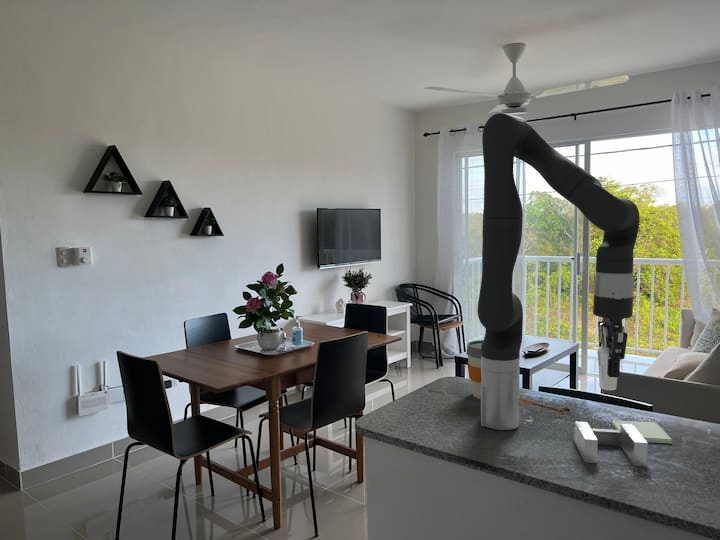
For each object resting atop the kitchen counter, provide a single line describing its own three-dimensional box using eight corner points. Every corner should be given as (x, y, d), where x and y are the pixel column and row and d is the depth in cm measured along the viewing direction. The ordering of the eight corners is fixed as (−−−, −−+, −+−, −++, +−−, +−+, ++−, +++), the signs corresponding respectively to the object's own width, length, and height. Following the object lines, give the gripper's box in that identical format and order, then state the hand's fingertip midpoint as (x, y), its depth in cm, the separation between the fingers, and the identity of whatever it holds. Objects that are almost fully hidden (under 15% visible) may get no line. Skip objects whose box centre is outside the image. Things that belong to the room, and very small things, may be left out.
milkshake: (627, 391, 110) (629, 344, 109) (601, 391, 110) (603, 344, 109) (617, 385, 114) (619, 339, 113) (592, 384, 114) (594, 339, 113)
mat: (623, 440, 120) (623, 436, 120) (611, 424, 130) (611, 420, 130) (671, 443, 118) (671, 439, 118) (655, 426, 128) (655, 422, 128)
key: (512, 405, 146) (563, 419, 135) (512, 402, 146) (563, 416, 135) (523, 399, 150) (574, 412, 139) (523, 396, 150) (574, 408, 139)
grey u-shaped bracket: (584, 462, 110) (584, 439, 109) (573, 440, 121) (573, 418, 120) (647, 466, 107) (647, 442, 107) (630, 443, 118) (630, 421, 118)
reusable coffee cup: (498, 405, 144) (498, 352, 143) (458, 396, 152) (458, 345, 151) (517, 393, 154) (518, 343, 152) (479, 385, 162) (479, 338, 161)
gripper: (586, 289, 118) (584, 363, 119) (602, 298, 104) (599, 382, 105) (622, 289, 116) (619, 365, 118) (643, 299, 102) (640, 384, 104)
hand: (610, 373), depth 112 cm, fingers closed on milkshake, 4 cm apart
